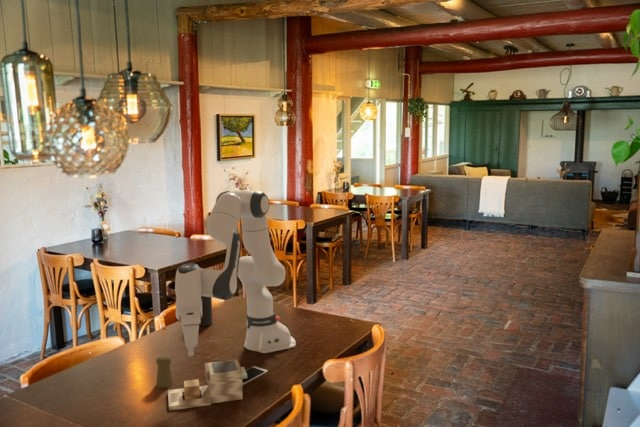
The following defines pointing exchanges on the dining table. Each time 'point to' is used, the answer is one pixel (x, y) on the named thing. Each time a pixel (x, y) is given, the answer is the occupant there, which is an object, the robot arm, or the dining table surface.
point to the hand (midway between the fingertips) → (190, 350)
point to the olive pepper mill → (164, 372)
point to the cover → (207, 373)
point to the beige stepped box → (213, 387)
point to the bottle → (206, 311)
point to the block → (191, 389)
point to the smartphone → (253, 374)
